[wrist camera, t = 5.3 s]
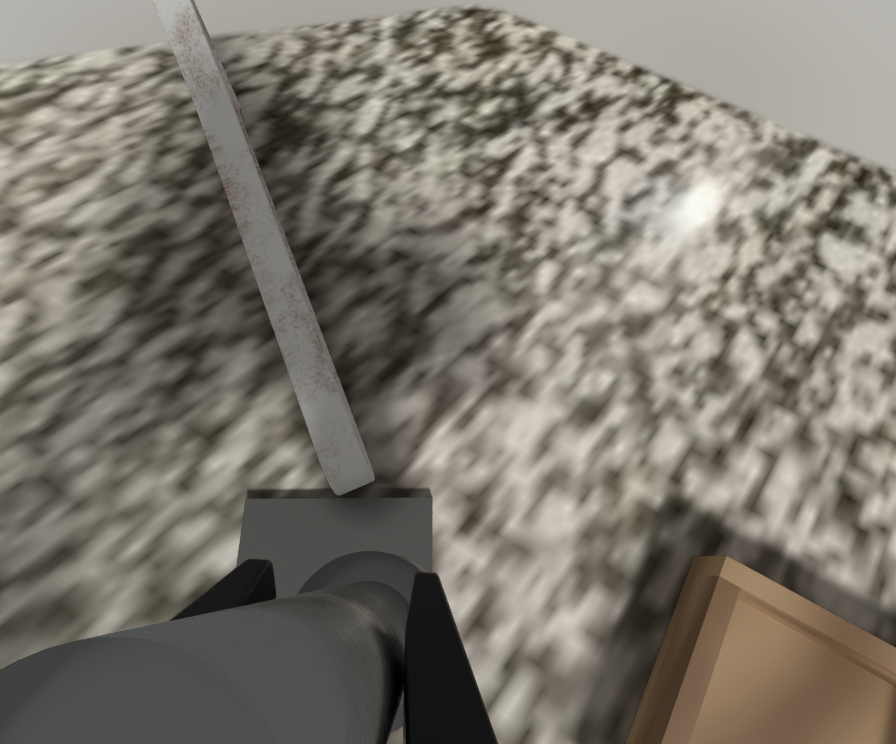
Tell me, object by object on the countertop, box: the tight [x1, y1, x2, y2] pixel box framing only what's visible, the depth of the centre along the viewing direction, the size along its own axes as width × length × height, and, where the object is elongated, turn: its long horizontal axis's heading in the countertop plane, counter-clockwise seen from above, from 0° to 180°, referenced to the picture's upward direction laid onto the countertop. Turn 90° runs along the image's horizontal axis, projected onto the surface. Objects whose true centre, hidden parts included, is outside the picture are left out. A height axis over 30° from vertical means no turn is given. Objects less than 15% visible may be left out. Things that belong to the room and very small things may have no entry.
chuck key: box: [0, 551, 427, 744], centre depth 9 cm, size 4×4×13 cm
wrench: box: [152, 0, 375, 496], centre depth 24 cm, size 8×2×30 cm
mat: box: [236, 497, 432, 599], centre depth 20 cm, size 8×8×1 cm
